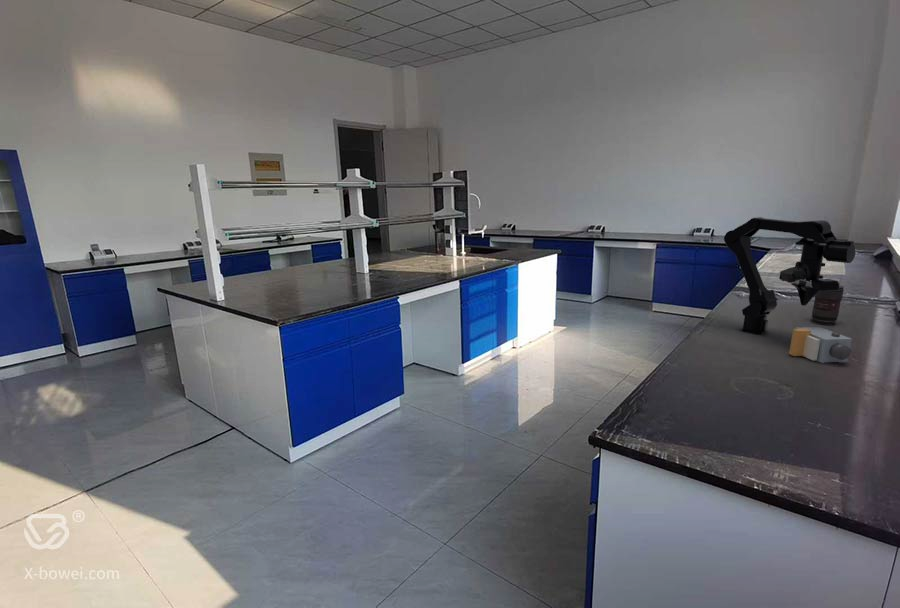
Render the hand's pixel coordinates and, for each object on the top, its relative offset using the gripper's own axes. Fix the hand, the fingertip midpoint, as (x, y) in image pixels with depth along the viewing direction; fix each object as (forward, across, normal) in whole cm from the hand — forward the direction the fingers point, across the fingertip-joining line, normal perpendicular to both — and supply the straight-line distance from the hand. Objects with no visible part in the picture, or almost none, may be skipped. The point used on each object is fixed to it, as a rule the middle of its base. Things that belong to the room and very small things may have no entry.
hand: (803, 305), depth 153 cm
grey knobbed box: (+13, +14, -3) cm, 20 cm away
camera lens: (+13, -20, +26) cm, 36 cm away
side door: (+13, +15, -10) cm, 22 cm away
